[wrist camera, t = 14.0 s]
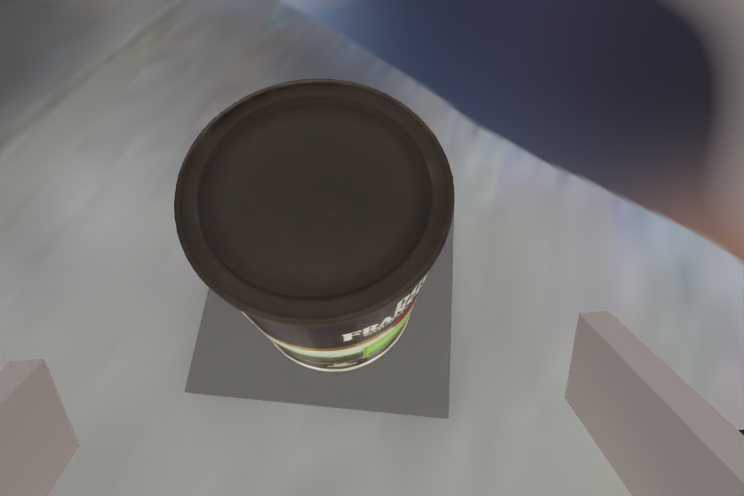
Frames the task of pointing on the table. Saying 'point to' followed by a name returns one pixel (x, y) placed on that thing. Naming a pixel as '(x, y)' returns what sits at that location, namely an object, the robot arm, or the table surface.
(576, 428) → the table surface
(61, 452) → the robot arm
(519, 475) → the table surface
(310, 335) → the coffee can
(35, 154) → the table surface
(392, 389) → the mat
